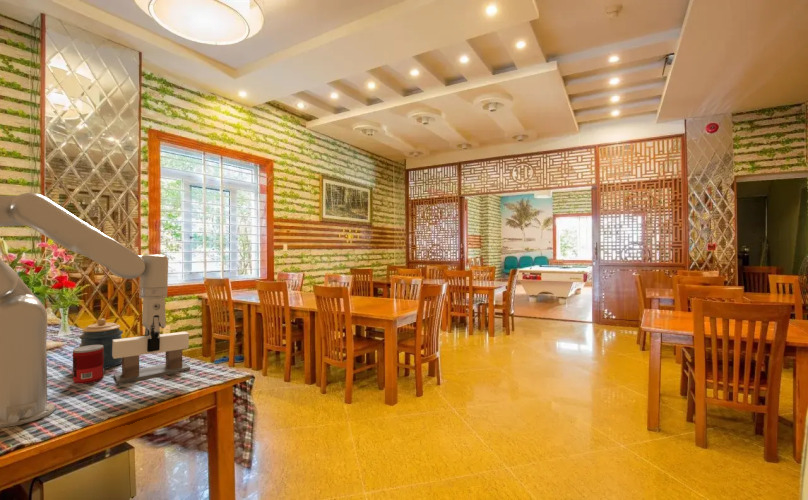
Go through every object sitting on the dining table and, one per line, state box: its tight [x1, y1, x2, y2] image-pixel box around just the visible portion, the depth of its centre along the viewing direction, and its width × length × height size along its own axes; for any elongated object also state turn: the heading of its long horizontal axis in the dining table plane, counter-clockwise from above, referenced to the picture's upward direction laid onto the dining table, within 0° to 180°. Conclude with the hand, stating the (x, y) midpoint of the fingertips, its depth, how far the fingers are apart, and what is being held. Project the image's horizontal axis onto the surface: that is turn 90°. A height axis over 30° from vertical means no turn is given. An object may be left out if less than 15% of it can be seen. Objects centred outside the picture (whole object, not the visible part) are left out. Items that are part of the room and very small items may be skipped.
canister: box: [78, 318, 124, 369], centre depth 141 cm, size 13×13×18 cm
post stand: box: [113, 349, 191, 386], centre depth 132 cm, size 10×21×9 cm, turn 134°
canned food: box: [72, 345, 105, 385], centre depth 126 cm, size 8×8×11 cm
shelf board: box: [112, 331, 190, 359], centre depth 120 cm, size 4×20×5 cm, turn 134°
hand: (151, 348), depth 120 cm, fingers closed on shelf board, 4 cm apart
